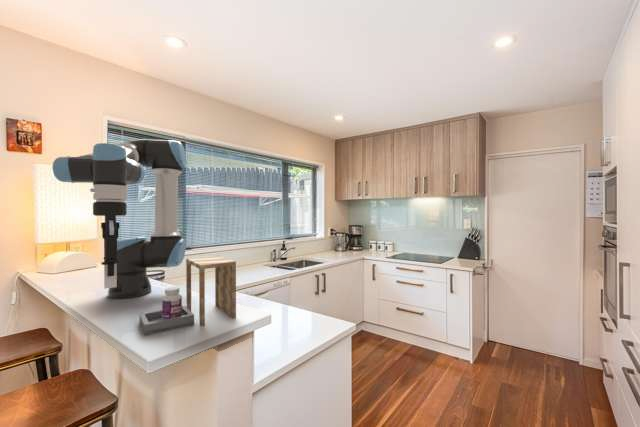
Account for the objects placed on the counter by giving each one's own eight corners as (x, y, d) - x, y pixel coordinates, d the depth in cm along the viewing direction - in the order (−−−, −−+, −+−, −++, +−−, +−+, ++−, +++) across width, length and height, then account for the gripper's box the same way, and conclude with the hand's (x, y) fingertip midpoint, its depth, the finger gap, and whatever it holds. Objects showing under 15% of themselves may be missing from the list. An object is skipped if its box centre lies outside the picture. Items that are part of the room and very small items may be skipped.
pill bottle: (173, 324, 88) (173, 291, 88) (158, 322, 89) (158, 290, 89) (185, 317, 93) (185, 286, 93) (170, 316, 94) (170, 285, 94)
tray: (139, 323, 91) (139, 313, 91) (184, 314, 99) (184, 305, 99) (144, 335, 82) (144, 324, 82) (194, 324, 90) (194, 314, 90)
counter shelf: (186, 311, 101) (186, 258, 101) (218, 305, 108) (218, 255, 108) (200, 326, 89) (200, 265, 89) (236, 317, 96) (235, 261, 95)
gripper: (92, 201, 84) (92, 284, 84) (93, 200, 74) (93, 294, 74) (124, 202, 89) (124, 281, 89) (129, 200, 79) (129, 290, 79)
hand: (110, 287), depth 81 cm, fingers closed
